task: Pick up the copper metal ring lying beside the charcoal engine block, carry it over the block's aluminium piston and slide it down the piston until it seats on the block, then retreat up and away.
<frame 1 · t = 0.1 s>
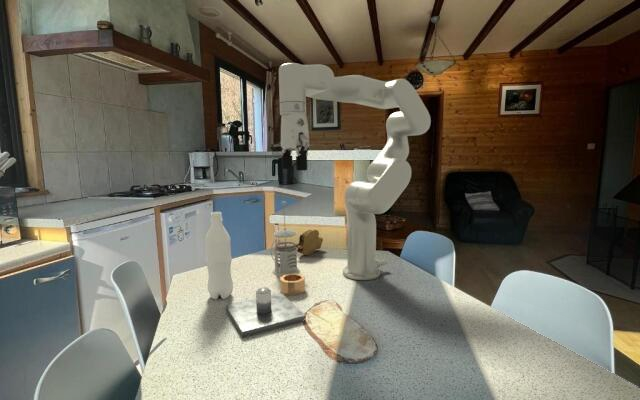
hand: (294, 169, 103), 37 cm above the table, tool pointing down, fingers open, 9 cm apart
water bottle: (221, 296, 104), on the table
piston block: (264, 315, 91), on the table
copper ring: (292, 290, 107), on the table
wooden carving: (309, 254, 144), on the table
french press: (284, 272, 123), on the table
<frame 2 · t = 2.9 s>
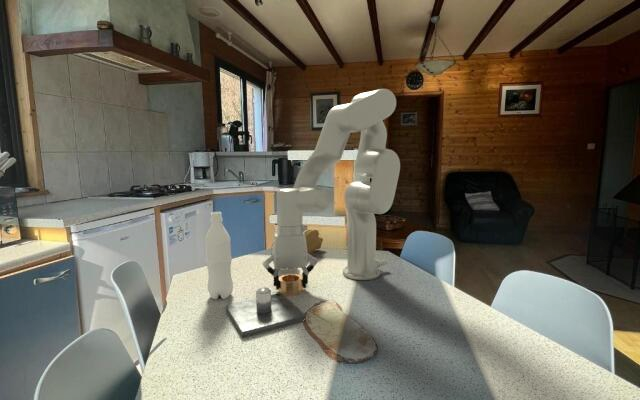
hand: (290, 286, 106), 1 cm above the table, tool pointing down, fingers closed on copper ring, 7 cm apart
copper ring: (290, 290, 107), on the table, touching gripper
everything else where it was.
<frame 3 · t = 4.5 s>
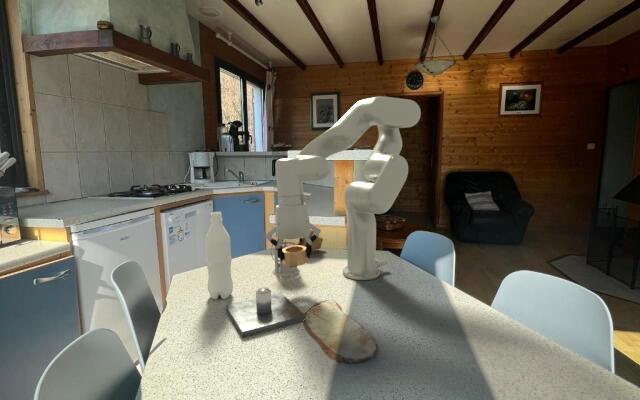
hand: (295, 257, 106), 10 cm above the table, tool pointing down, fingers closed on copper ring, 7 cm apart
copper ring: (295, 261, 106), point 9 cm above the table, touching gripper
everything else where it was.
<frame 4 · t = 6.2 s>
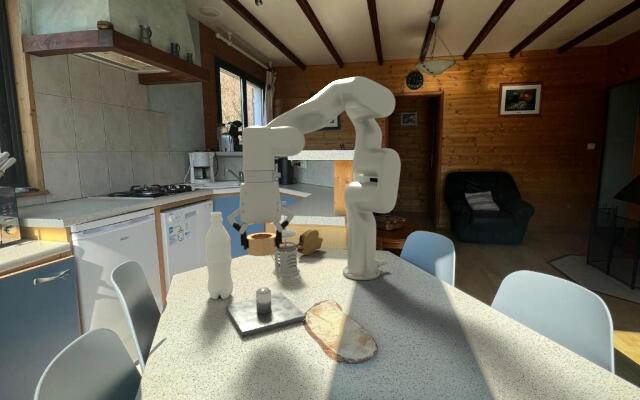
hand: (261, 247, 89), 18 cm above the table, tool pointing down, fingers closed on copper ring, 7 cm apart
copper ring: (262, 251, 89), point 17 cm above the table, touching gripper
everything else where it was.
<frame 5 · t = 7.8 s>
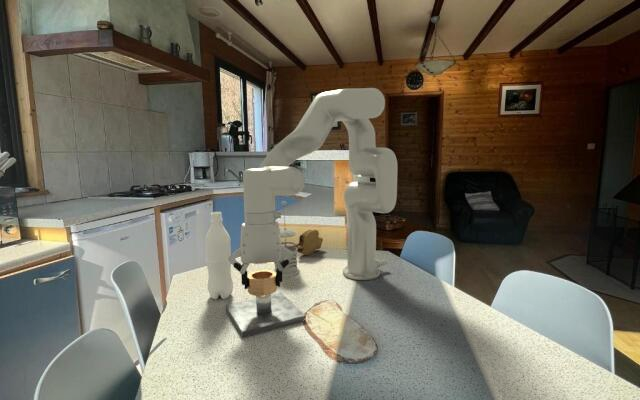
hand: (262, 285, 90), 8 cm above the table, tool pointing down, fingers closed on copper ring, 7 cm apart
copper ring: (262, 289, 90), point 7 cm above the table, touching gripper
everything else where it was.
when the fingers open (4 cm above the table, at t = 9.1 s): copper ring drops 2 cm, resting on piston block.
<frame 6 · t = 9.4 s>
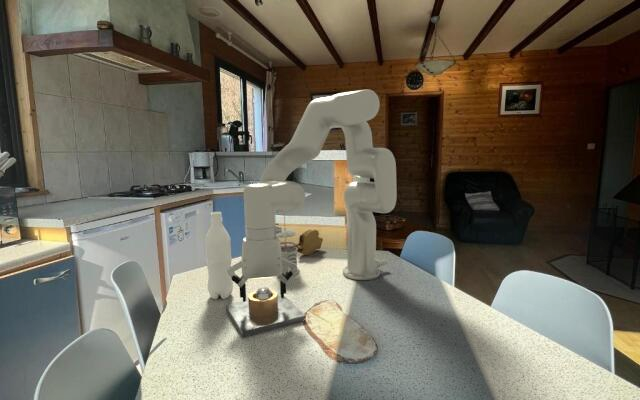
hand: (263, 297, 90), 5 cm above the table, tool pointing down, fingers open, 9 cm apart
copper ring: (263, 309, 91), point 1 cm above the table, touching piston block
everything else where it was.
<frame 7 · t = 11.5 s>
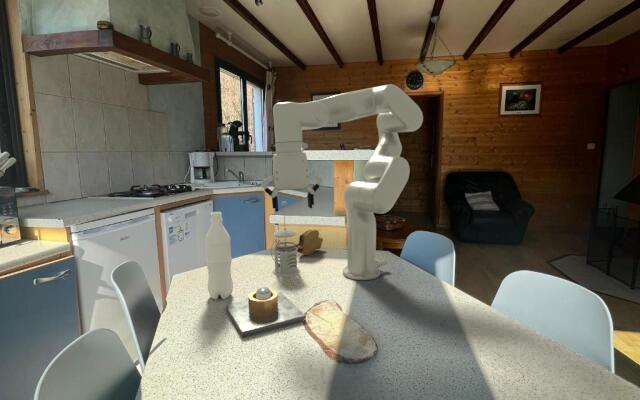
hand: (293, 209, 100), 26 cm above the table, tool pointing down, fingers open, 9 cm apart
nothing on the table moved.
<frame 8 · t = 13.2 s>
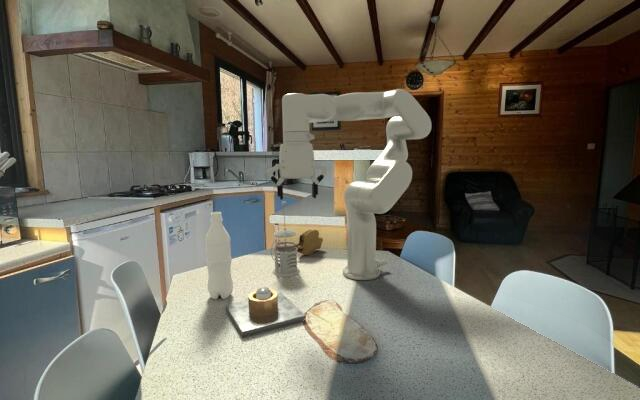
hand: (297, 198, 103), 28 cm above the table, tool pointing down, fingers open, 9 cm apart
nothing on the table moved.
at the end: copper ring 0.2 cm from the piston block (horizontally); copper ring point 1.5 cm above the table; the gripper is holding nothing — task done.
